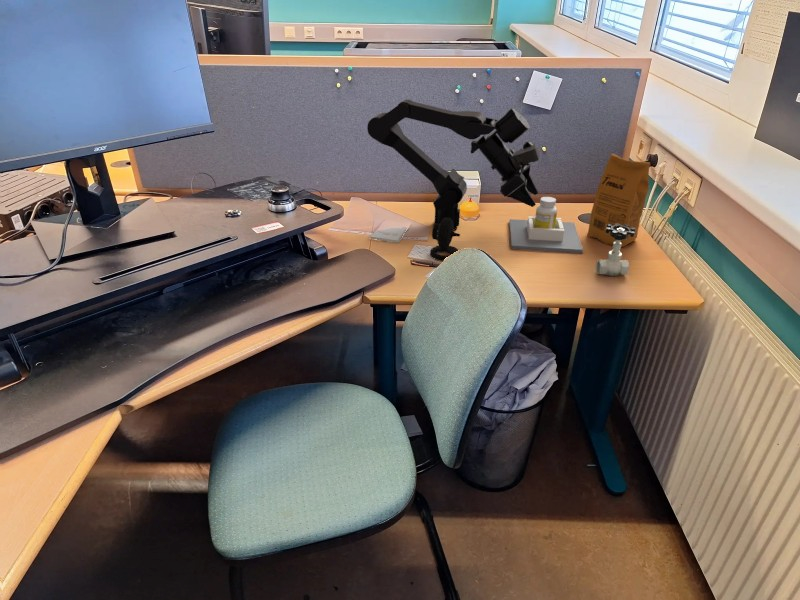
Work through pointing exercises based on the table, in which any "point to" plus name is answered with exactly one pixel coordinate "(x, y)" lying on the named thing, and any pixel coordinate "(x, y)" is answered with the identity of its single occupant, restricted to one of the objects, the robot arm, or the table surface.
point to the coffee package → (619, 198)
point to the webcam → (443, 238)
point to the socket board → (544, 236)
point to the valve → (615, 252)
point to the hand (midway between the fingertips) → (535, 199)
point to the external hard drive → (389, 234)
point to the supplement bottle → (546, 213)
